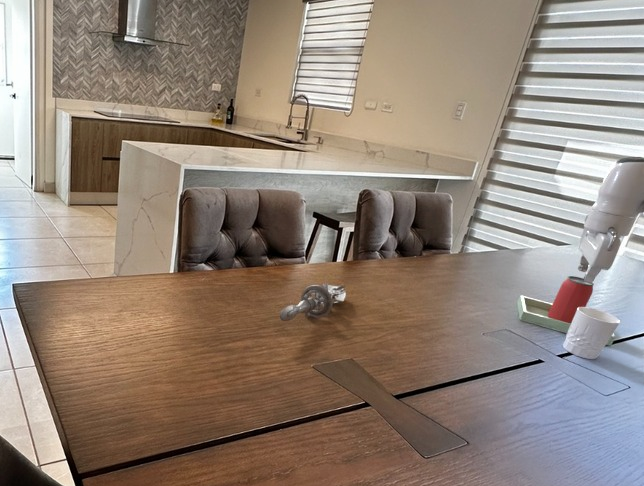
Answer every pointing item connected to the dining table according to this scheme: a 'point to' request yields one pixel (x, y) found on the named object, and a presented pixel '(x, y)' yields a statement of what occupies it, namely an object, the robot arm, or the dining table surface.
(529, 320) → the serving tray
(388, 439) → the dining table surface
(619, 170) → the robot arm
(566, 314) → the beer can
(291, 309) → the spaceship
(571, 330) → the white cup
